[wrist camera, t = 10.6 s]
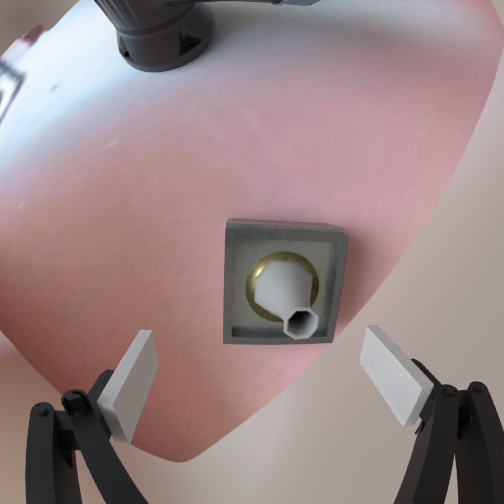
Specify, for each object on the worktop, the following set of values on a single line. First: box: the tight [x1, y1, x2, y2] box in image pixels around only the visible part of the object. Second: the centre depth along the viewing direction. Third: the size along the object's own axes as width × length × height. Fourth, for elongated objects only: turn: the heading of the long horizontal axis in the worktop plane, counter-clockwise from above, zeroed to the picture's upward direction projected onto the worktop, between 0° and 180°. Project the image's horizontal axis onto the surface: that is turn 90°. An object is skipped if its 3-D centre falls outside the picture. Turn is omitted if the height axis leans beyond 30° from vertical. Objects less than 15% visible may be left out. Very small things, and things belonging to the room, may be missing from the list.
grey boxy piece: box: [223, 219, 348, 345], centre depth 35 cm, size 15×14×8 cm
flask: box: [254, 259, 320, 339], centre depth 27 cm, size 7×7×10 cm
